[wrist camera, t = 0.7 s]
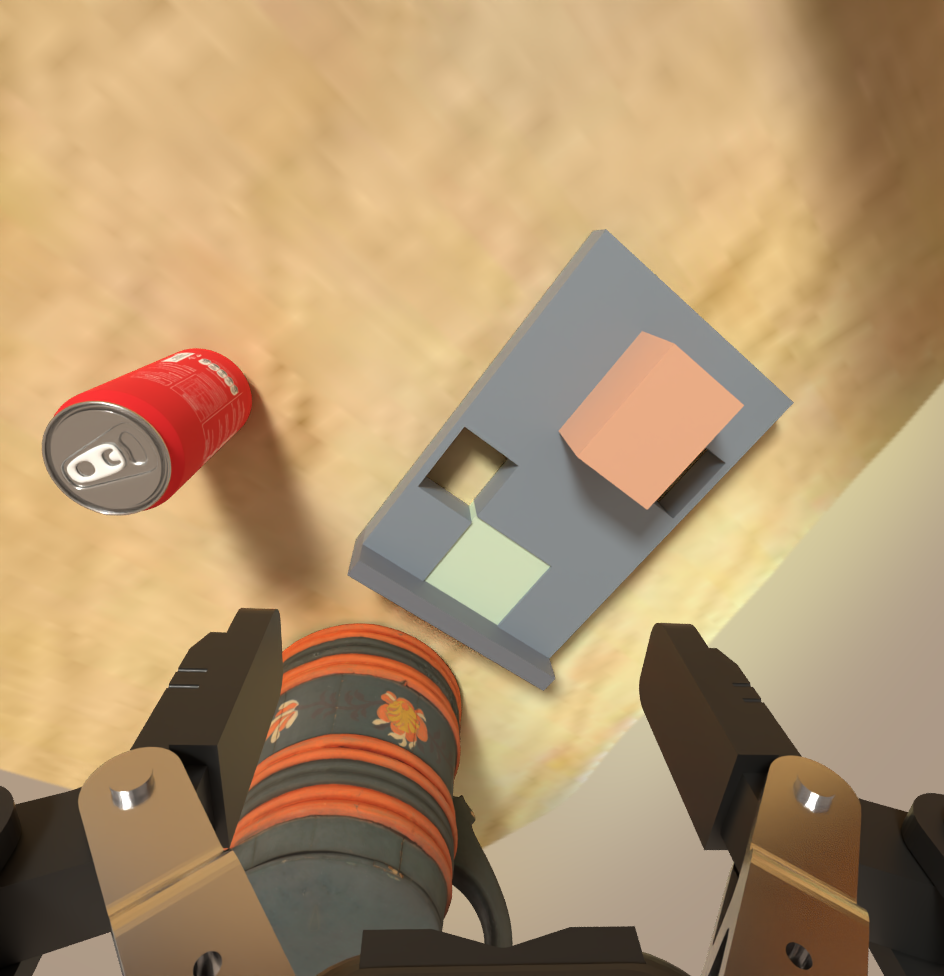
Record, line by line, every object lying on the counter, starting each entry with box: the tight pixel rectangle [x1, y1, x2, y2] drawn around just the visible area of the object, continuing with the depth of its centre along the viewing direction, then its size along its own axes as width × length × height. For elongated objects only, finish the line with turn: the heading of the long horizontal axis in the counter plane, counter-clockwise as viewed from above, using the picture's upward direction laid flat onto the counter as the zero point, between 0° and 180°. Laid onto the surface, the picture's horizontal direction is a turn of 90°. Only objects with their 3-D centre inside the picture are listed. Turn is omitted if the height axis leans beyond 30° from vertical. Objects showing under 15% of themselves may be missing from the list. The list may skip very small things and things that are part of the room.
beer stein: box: [223, 624, 512, 976], centre depth 35 cm, size 19×15×20 cm
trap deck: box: [348, 229, 794, 691], centre depth 35 cm, size 23×15×4 cm, turn 142°
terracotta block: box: [559, 331, 744, 510], centre depth 31 cm, size 7×5×4 cm
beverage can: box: [42, 348, 252, 515], centre depth 28 cm, size 5×5×12 cm
